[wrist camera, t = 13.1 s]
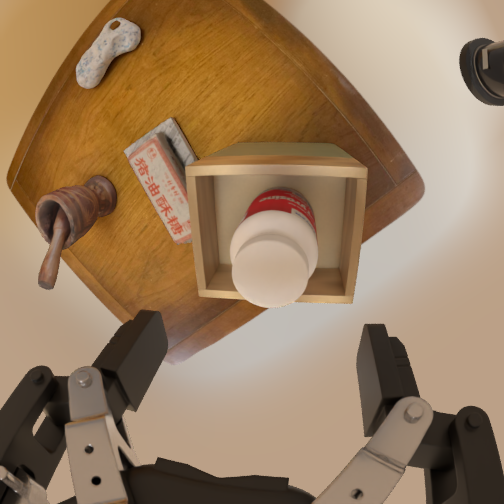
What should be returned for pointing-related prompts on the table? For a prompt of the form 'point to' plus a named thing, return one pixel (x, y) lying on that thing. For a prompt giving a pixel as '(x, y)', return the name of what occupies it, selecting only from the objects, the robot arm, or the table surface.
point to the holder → (255, 182)
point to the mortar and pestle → (70, 219)
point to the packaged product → (165, 175)
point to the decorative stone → (106, 51)
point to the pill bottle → (274, 248)
